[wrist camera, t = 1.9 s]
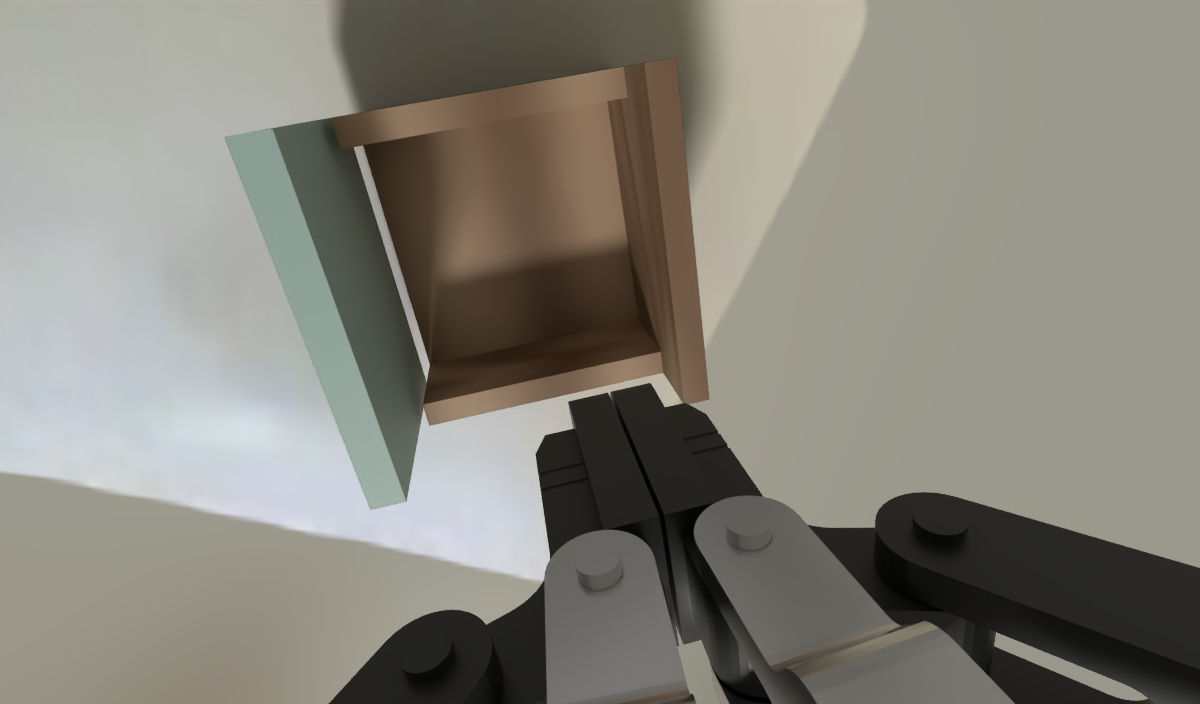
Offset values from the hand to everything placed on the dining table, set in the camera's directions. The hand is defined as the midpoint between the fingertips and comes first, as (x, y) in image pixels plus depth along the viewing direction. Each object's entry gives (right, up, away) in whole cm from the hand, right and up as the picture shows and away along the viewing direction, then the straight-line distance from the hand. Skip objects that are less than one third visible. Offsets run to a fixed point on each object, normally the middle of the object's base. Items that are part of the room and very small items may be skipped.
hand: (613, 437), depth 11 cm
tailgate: (-10, +5, +15) cm, 19 cm away
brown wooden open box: (-5, +8, +19) cm, 21 cm away
